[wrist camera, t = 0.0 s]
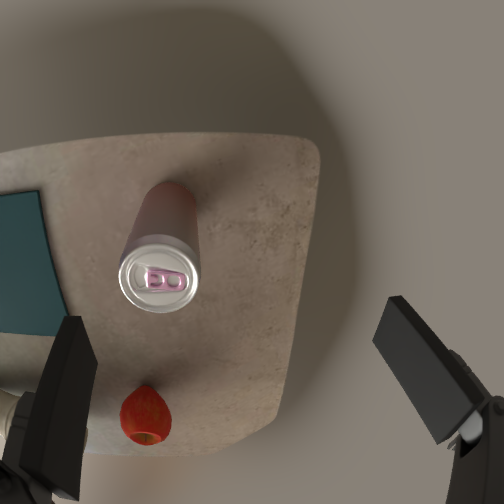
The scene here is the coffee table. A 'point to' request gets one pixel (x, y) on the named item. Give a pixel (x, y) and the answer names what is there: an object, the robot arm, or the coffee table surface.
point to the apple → (145, 416)
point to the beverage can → (162, 251)
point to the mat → (27, 269)
